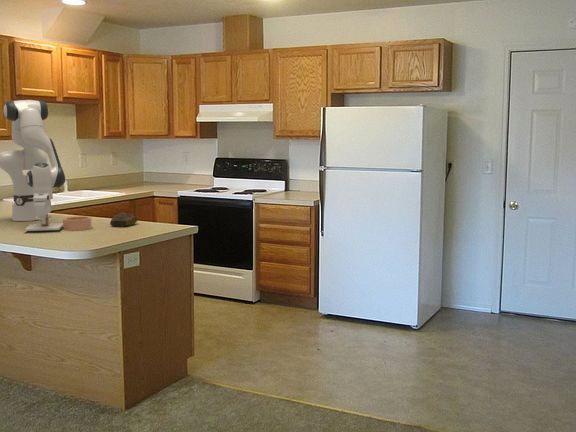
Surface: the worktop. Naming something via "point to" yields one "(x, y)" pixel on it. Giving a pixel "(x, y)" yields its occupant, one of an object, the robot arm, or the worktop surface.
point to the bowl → (77, 223)
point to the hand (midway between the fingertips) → (44, 223)
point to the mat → (44, 231)
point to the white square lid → (44, 226)
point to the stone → (123, 220)
